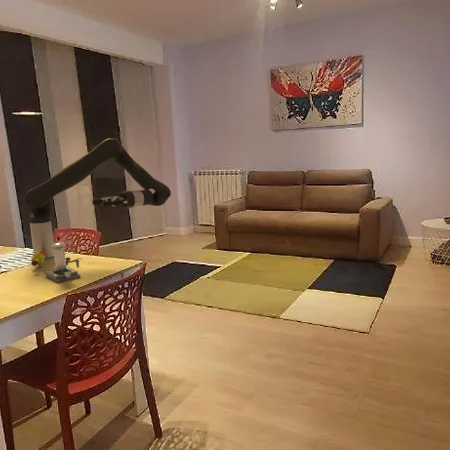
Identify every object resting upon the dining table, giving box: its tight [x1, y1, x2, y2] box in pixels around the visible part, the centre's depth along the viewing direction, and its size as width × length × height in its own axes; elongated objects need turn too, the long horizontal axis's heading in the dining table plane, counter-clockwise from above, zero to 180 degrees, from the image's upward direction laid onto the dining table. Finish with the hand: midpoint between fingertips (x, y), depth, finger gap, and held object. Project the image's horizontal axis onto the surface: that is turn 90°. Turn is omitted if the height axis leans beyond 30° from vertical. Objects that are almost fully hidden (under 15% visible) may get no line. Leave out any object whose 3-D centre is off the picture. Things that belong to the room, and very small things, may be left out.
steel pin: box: [51, 241, 67, 274], centre depth 163 cm, size 5×5×14 cm
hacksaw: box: [65, 256, 83, 269], centre depth 182 cm, size 24×10×2 cm, turn 19°
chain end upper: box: [44, 266, 79, 279], centre depth 165 cm, size 11×9×3 cm
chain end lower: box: [46, 271, 81, 284], centre depth 163 cm, size 11×9×3 cm
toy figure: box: [30, 251, 46, 269], centre depth 179 cm, size 18×6×7 cm, turn 13°
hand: (97, 203), depth 172 cm, fingers open, 8 cm apart
